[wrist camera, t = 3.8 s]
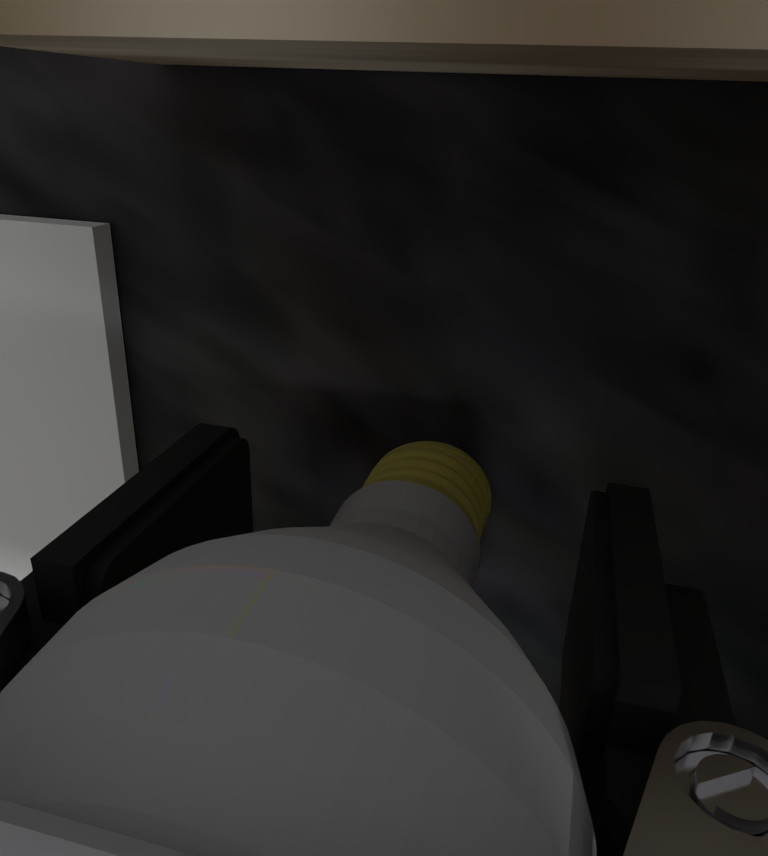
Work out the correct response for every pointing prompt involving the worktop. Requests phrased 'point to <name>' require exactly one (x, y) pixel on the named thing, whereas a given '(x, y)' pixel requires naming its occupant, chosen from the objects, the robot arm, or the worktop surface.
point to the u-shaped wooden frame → (410, 35)
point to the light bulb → (306, 693)
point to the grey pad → (58, 382)
